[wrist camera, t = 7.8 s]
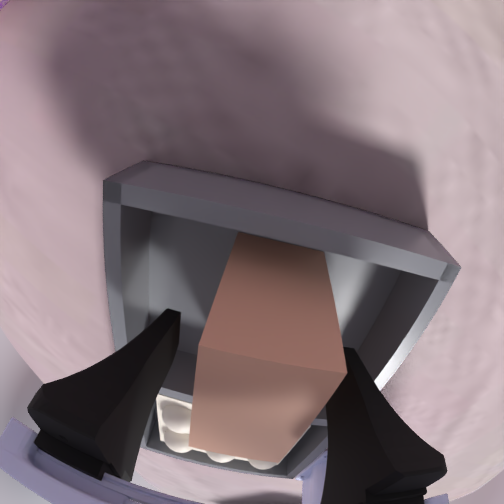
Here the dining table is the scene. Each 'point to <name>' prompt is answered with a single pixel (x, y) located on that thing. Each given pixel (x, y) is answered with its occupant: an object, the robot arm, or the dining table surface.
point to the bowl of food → (3, 3)
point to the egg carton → (178, 428)
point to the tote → (215, 260)
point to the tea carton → (266, 351)
